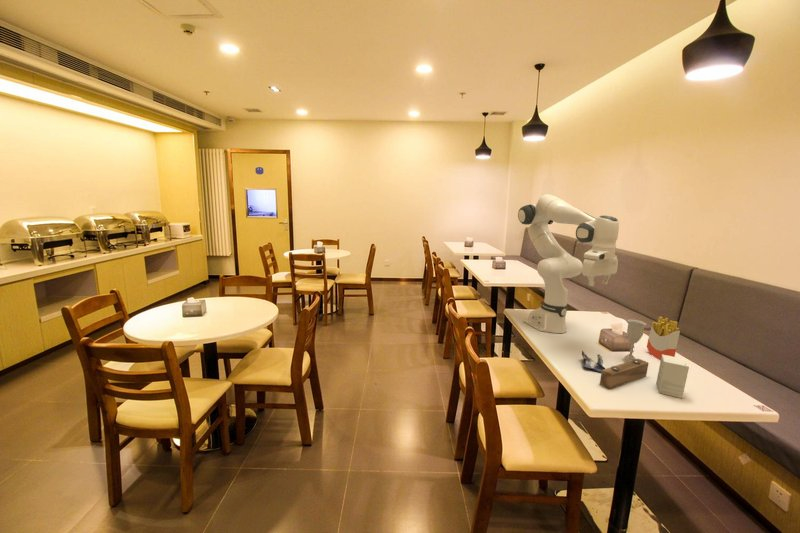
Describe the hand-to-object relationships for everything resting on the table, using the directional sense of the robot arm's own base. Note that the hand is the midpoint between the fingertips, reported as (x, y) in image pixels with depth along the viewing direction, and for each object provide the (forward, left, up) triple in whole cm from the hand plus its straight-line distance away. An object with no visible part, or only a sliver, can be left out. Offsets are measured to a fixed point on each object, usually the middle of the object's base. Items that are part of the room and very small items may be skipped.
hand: (598, 284), depth 156 cm
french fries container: (+16, +28, -33) cm, 46 cm away
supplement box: (+34, -1, -33) cm, 47 cm away
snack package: (+9, -10, -33) cm, 36 cm away
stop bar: (+22, -9, -32) cm, 40 cm away
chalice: (+13, +11, -33) cm, 37 cm away
